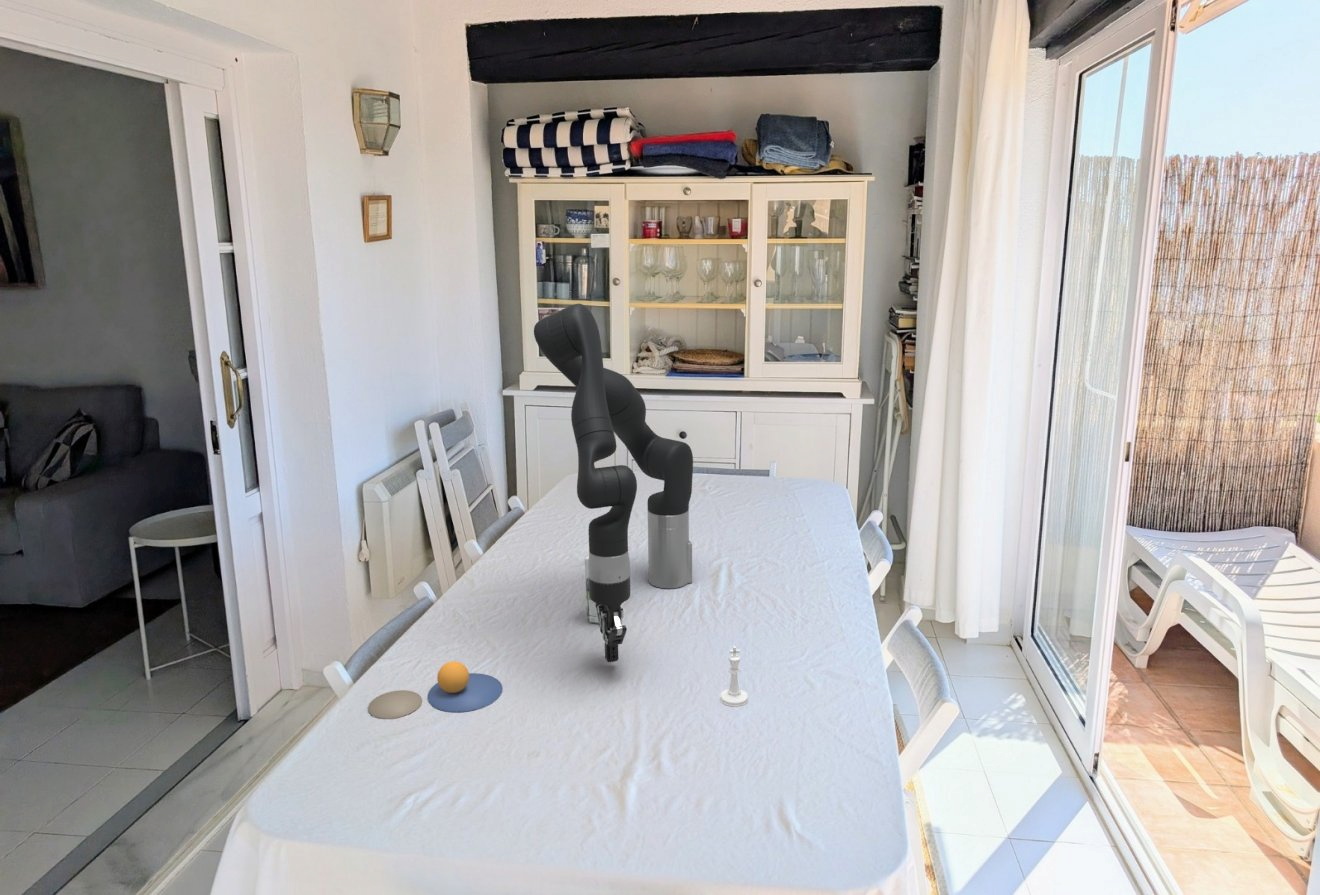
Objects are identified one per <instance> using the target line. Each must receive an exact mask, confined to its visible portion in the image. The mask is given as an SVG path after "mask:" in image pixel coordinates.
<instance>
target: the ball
mask: <svg viewBox="0 0 1320 895" xmlns="http://www.w3.org/2000/svg"><path fill="white" fill-rule="evenodd" d="M469 673H470V672H469V669H468V668H467V666H466V665H465V664H464V663H462V662H461V661H457V660H455V661H454V660H451V661H448V662H446V663H445V664H443V665H442V666H441V667H440V668H439V670H438V673H437V679H436V680H437V683H438V684H439V686H440V687H441V689H443V690H444V691H445V692H448V693H457V692H459V691H461V690H463V689H464V688H465V687H466V685H467V683H468V681H469Z"/></svg>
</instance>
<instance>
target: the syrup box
mask: <svg viewBox="0 0 1320 895" xmlns="http://www.w3.org/2000/svg"><path fill="white" fill-rule="evenodd" d="M588 559H589V553H588V554H587V556H586V557H585V558H584V568H585V569H584V572H585V595H586V597H585V598H586V600H585V601H586V620H587V623H590V624H596V625H599V620H598V615H597V609H596V606H595V604H596V603H595V602H593V601H592V600H591V599H590V597H589V572H588ZM620 607H621V608H622V605H621V606H620Z"/></svg>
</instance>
